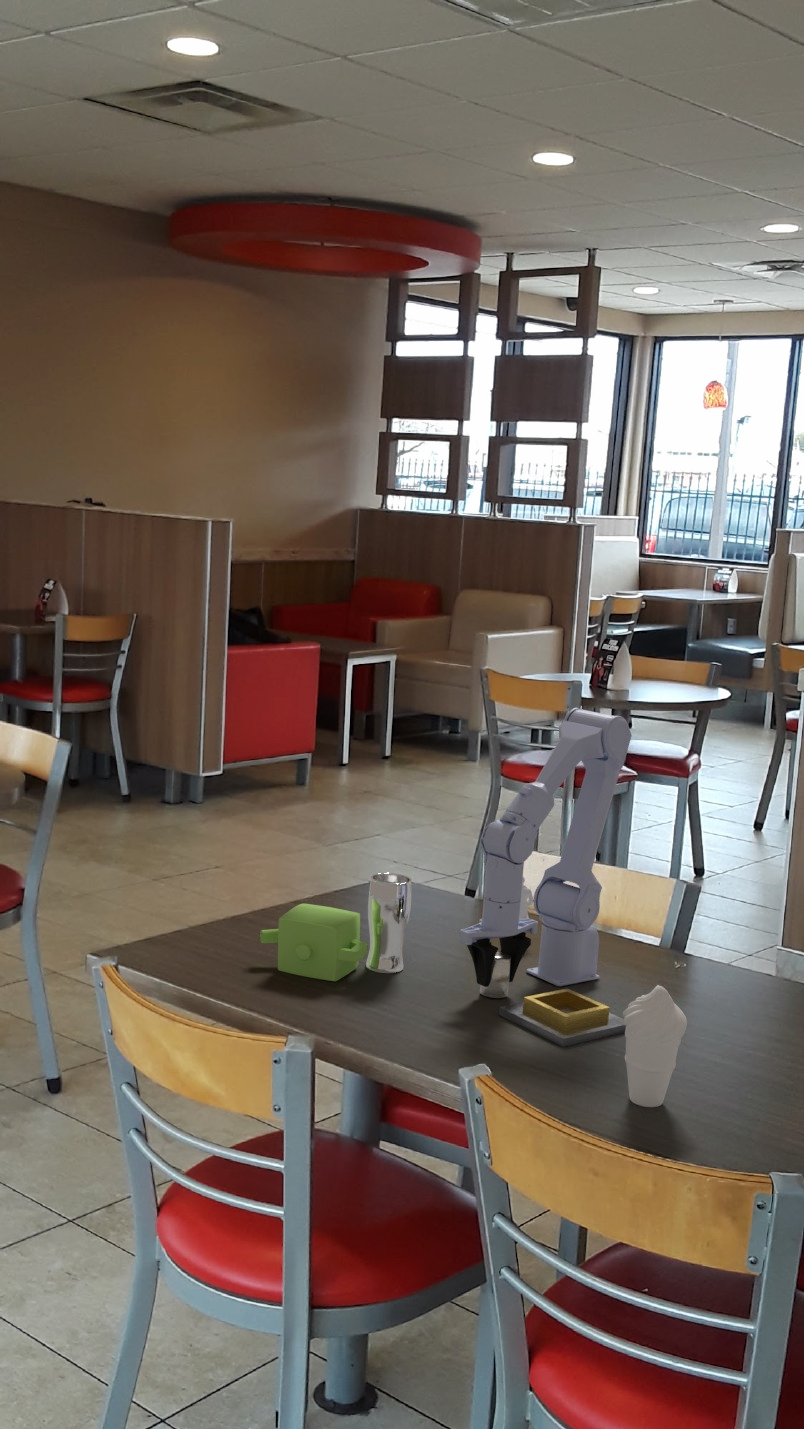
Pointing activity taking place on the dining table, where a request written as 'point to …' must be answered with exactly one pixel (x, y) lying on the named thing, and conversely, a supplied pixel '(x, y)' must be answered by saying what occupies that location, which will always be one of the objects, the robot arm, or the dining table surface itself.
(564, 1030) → the fill port
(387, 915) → the beer glass
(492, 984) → the spout can
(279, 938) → the gearbox
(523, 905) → the action figure
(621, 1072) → the dining table surface
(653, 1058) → the soft serve ice cream cone
